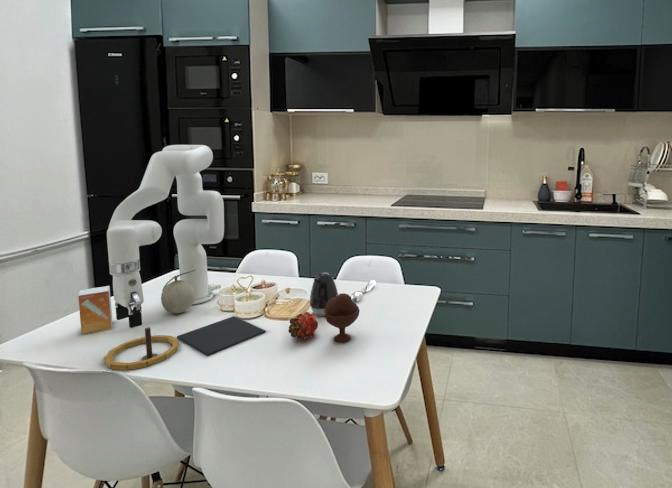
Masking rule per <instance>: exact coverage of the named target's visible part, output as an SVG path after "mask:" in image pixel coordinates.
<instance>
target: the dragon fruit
mask: <svg viewBox="0 0 672 488" xmlns="http://www.w3.org/2000/svg"><path fill="white" fill-rule="evenodd" d="M318 327H319V322H318V320H317V318H316V314H314V313H310V312H309V311H305V312H304V313H299V314H297V315H296V316H295V317H294V318H291V319H289V326H288V330H287V331H288V333H289V334H290V337H291V338H297V341H304V340H305V339H306V338H308V339H312V338H314V336H315V334H314V333H315V332H316V330H317V329H318Z"/></svg>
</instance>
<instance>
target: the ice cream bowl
mask: <svg viewBox="0 0 672 488" xmlns="http://www.w3.org/2000/svg"><path fill="white" fill-rule="evenodd" d="M324 313H325V316H324V317H325V320H326V322H327V323H328V324H329V325H330V326H332V327H334V328H337V329H339V330H338V331H339V333H338V334H336V335H335V336H334V337H333V342H334V343H337V344H346V343H350V341H352V337H351V335H350V334H348V333H346V328H348V327H349V326H351V325H352V324H353V323H355V322H356V320H358V318H359V315H360V307H359V306H358V305H357V302H353V301H352V298H351V295H350V294H348V293H338V296H336V297H333V298H332V299H330V300H329V301H328V303H327V305H326V309H325V310H324Z"/></svg>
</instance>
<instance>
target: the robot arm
mask: <svg viewBox="0 0 672 488" xmlns="http://www.w3.org/2000/svg"><path fill="white" fill-rule="evenodd" d="M213 160H214V155H213V151H212V149H211V148H210V146H207V145H205V144H170V145H166V146H165V147H163V148H162V150H159V151H156V152H155V153H153V154H152V155H151V157H150V159H149V162H148V163H147V167H146V169H145V172H144V174H143V177H142V180H141V182H140V185H139V188H138V189H137V190H135V191H134V192H132V193H131V194H130V195H128V196H127V197H125V199H123V201H121V202H120V203H119V204H118V205H117V207H116V208H115V210H114V211H113V213H112V216H111V219H110V221H109V224H108V229H107V231H106V243H107V253H108V254H107V255H108V256H107V257H108V267H109V275H110V276H112V292H113V300H114V301H115V302H114V306H115V317H116V318H115V319H116V320H117V321H120V320H124V319H127V318H128V327H129V328H130V329H134V328H137V327H140V326H142V325H143V316H142V312H143V311H142V308H143V307H142V304H143V303H144V302H145V300H144V291H143V290H144V289H143V284H142V278H141V274H140V271H141V260H140V258H141V257H140V247H141V246H146V245H147V246H148V245H152V244H155V243H156V242H158V240H159V239H160V238H161V236H162V234H163V229H162V226H161V225H160V224H159V223H158V222H157V221H154V220H149V219H146V220H145V219H144V220H142V219H141V220H139V219H136V220H135V219H133V218H134V217H135V215H136V214H137V213H139V212H140V211H142V210H143V209H146V208H147V207H150V206H153V205H156V204H157V203H159V202H163V201H164V200H166V199H167V198H168V197H169V194H170V191H171V188H172V185H173V182H174V180H175V179H176V191H177V192H176V193H177V194H176V197H177V210H178V212H179V213H180V214H181V215H183V216H206V218H185V219H181V220H179V221H178V222H176V223H175V225H174V226H173V237H174V240H175V244H176V249H177V257H178V269H179V270H178V273H179V274H182V273H186V272H190V271H193V270H196V271H193V272H190V273H187V274H184V275H181V276H179V280H183V281H187V282H188V283H189V284H191V286H192V287H193V289H194V294H195V296H194V301H193V304H192V305H198V304H199V305H200V304H203V303H206V302H208V301H210V300H212V299H213V298H214V291H216V290H219V289H222V286H221V283H216V284H214V283H212V284H209V275H208V274H209V273H208V259H207V258H208V257H207V252H206V250H205V248H204V247H203V245H215V244H216V245H217V244H219V243H221V242H222V241H223V238H224V235H225V206H224V205H225V204H224V203H225V202H224V198H223V196H222V195H221V193H220V192H219V191H216V190H204V188H203V178H202V175H201V173H200V172H202V171H204V170H205V169H207V168H209V167H210V166H211V164H212V163H213ZM192 305H191V306H192Z"/></svg>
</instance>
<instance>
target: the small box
mask: <svg viewBox="0 0 672 488" xmlns="http://www.w3.org/2000/svg"><path fill="white" fill-rule="evenodd" d="M77 297H78V307H79V308H78V310H79V321H80V332H81V335H85V334H89V333H94V332H99V331H105V330H111V329H112V328H113V312H112V311H113V310H112V298H111V286H110V285H106V286H105V285H104V286H100V287H99V286H98V287H92V288H86V289H80V290H79V292H78V296H77Z"/></svg>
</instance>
